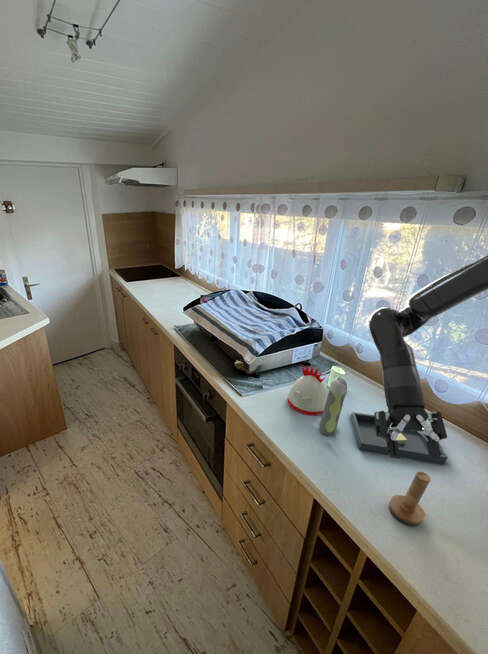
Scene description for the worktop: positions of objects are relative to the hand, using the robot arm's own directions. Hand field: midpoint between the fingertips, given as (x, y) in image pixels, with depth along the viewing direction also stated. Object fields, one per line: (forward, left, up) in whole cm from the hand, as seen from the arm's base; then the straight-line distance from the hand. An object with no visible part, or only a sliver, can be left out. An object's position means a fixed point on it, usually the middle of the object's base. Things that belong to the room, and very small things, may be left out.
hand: (415, 458), depth 68 cm
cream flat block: (-7, -23, -15) cm, 28 cm away
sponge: (+41, -60, -15) cm, 75 cm away
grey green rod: (+13, -22, -15) cm, 30 cm away
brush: (-1, +4, -15) cm, 16 cm away
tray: (-6, -23, -15) cm, 29 cm away
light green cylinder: (+7, -50, -15) cm, 53 cm away
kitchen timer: (+18, -36, -15) cm, 44 cm away
